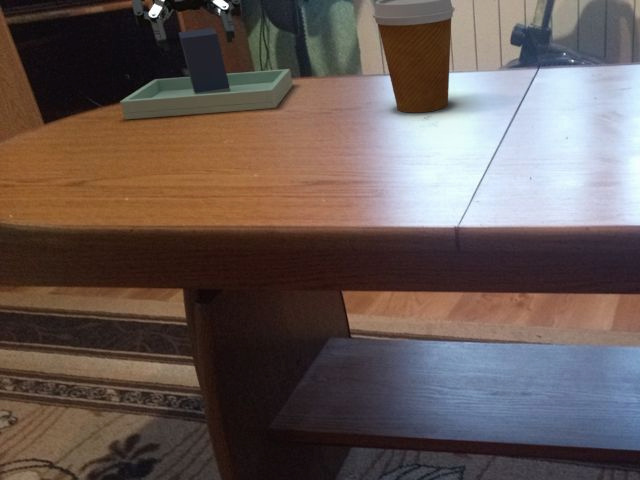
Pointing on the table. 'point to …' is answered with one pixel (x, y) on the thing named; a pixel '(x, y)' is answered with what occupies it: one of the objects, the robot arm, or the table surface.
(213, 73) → the eraser
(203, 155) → the table surface
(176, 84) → the tray
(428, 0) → the disposable coffee cup
